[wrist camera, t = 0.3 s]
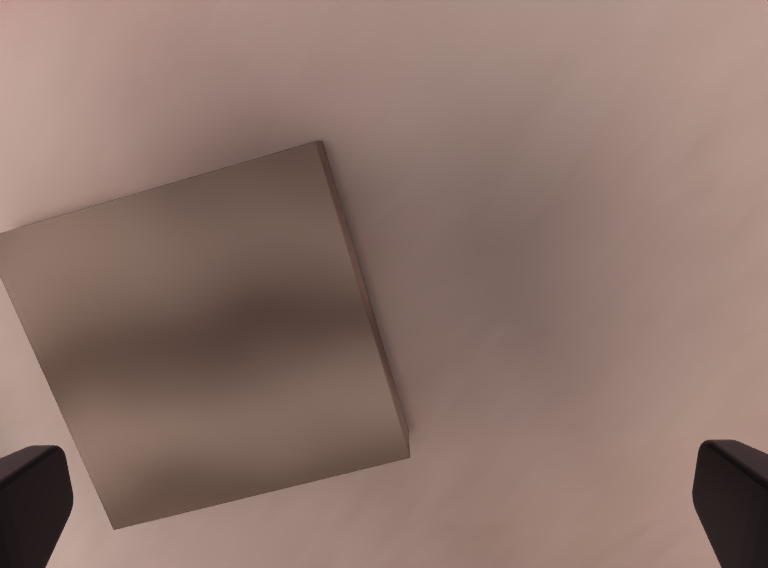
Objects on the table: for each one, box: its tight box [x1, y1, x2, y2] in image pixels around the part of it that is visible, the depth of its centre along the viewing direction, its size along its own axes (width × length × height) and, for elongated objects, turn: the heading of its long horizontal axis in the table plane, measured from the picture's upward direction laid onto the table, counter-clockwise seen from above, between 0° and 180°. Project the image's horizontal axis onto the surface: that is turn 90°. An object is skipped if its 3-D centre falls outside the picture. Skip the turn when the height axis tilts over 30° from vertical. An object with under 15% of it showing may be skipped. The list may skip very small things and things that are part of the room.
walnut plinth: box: [0, 140, 410, 530], centre depth 23 cm, size 12×12×2 cm
